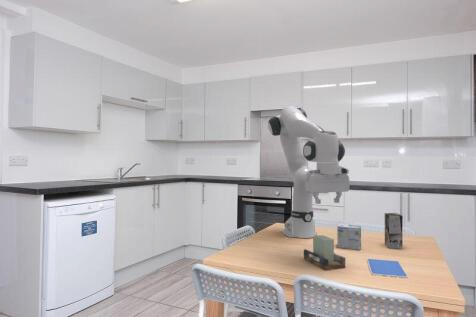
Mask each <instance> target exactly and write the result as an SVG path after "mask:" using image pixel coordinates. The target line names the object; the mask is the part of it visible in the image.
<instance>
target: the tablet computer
mask: <svg viewBox="0 0 476 317" xmlns="http://www.w3.org/2000/svg"><path fill="white" fill-rule="evenodd" d="M366 263H367V265H368V266H367V267H368V268H369V269H370V270H369V272H371V273H370V275H371V274H375V275H374V276H376V275H382V276H381V277H387V276H390V278H397V277H399V278H400V279H408V278H409V277H408V274H407V273H406V271H405V269H404V268H403V266H402V265H401V263H400V262H399V261H396V260H388V259H376V258H375V259H374V258H367V259H366Z"/></svg>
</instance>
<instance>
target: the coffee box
mask: <svg viewBox="0 0 476 317" xmlns="http://www.w3.org/2000/svg"><path fill="white" fill-rule="evenodd" d="M403 217H404V216H403V215H402V214H399V213H397V212H389V213H388V212H387V213H386V212H385V213H384V245H385V246H386V247H387V248H389V249H393V250H396V249H397V250H402V249H403V228H404V227H403Z"/></svg>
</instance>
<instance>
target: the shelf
mask: <svg viewBox="0 0 476 317" xmlns="http://www.w3.org/2000/svg"><path fill="white" fill-rule="evenodd" d="M303 259H304V260H305V261H307V262H310V263H311V264H313V265H315V266H318V267H319V268H321V269H323V270H324V271H331V270H332V269H333V270H338V269H339V268H340V269H345V268H346V257H345V256H342V255H340V254H338V253H335V252H334V262H328V259H326V258H324V257H321V256H319V255H317V254H315V253H313V251H311V250H309V249H306V248H304V249H303Z"/></svg>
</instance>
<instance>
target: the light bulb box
mask: <svg viewBox="0 0 476 317" xmlns="http://www.w3.org/2000/svg"><path fill="white" fill-rule="evenodd" d="M336 231H337V233H336V234H337V236H336V237H337V247H336V248H340V249H349V250H355V251H356V250H358V251H360V250H361V248H362V226H361V225H357V224H343V223H339V224H338V225H337V229H336Z"/></svg>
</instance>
